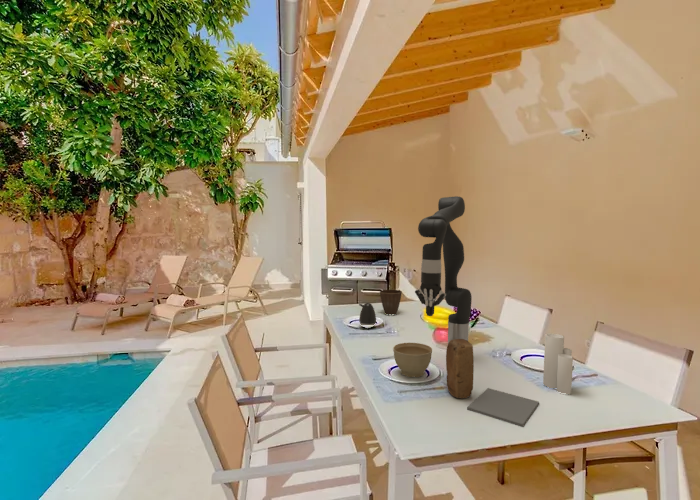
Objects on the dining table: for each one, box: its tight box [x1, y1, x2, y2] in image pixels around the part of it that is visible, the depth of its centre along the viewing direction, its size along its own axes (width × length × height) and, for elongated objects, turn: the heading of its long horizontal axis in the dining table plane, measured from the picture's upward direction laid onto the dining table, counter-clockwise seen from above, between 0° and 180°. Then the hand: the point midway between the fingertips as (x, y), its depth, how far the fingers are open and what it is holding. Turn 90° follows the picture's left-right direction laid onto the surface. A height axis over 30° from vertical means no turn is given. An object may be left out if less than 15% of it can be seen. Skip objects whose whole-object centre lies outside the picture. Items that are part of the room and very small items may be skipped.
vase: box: [542, 332, 574, 394], centre depth 150 cm, size 11×7×20 cm, turn 27°
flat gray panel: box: [466, 387, 540, 428], centre depth 136 cm, size 20×18×1 cm
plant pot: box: [379, 289, 403, 315], centre depth 270 cm, size 15×15×16 cm
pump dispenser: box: [358, 302, 377, 326], centre depth 236 cm, size 10×10×15 cm
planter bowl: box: [392, 342, 433, 378], centre depth 165 cm, size 16×16×11 cm
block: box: [445, 339, 475, 399], centre depth 145 cm, size 11×8×20 cm
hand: (429, 315), depth 152 cm, fingers closed
